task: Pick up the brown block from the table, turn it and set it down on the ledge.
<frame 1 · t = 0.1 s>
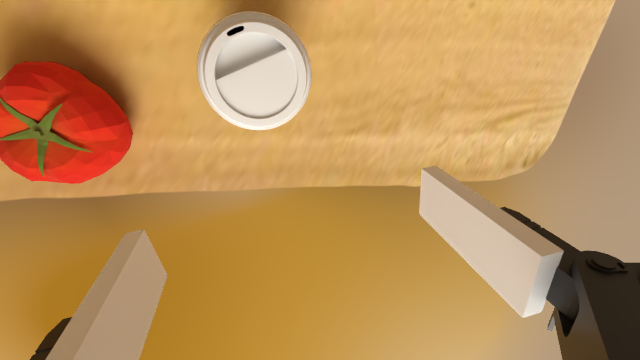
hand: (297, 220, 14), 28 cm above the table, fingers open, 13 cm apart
coffee cup: (253, 64, 36), on the table
tomato: (84, 116, 34), on the table
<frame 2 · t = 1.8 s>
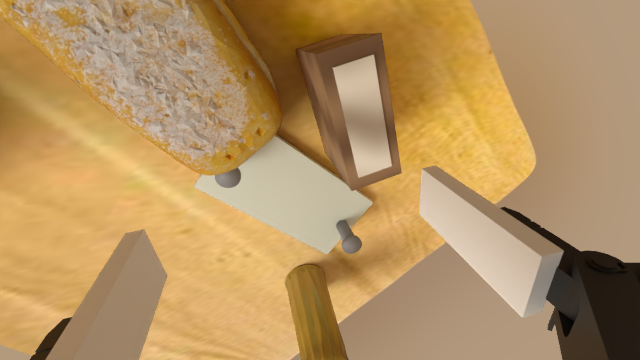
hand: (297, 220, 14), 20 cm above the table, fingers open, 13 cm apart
vase: (304, 278, 43), on the table
brown block: (332, 98, 32), on the table
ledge: (290, 191, 36), on the table
bread: (155, 34, 26), on the table, touching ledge
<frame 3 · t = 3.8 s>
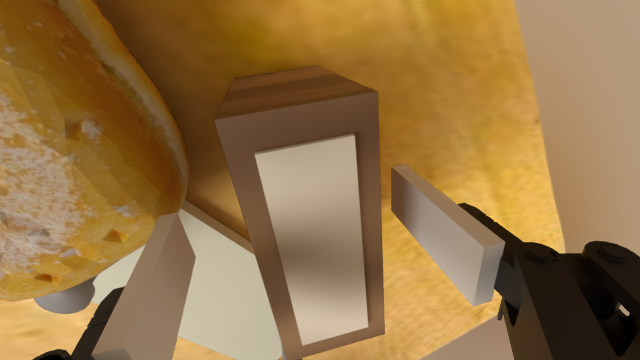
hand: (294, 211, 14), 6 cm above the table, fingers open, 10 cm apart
brown block: (292, 161, 20), on the table
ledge: (214, 284, 23), on the table
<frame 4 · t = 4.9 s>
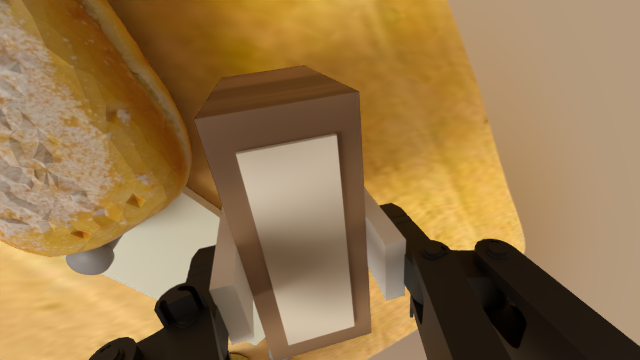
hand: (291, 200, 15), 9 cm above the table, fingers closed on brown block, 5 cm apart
brown block: (281, 161, 20), point 4 cm above the table, touching gripper
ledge: (211, 264, 27), on the table
bread: (10, 35, 17), on the table, touching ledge
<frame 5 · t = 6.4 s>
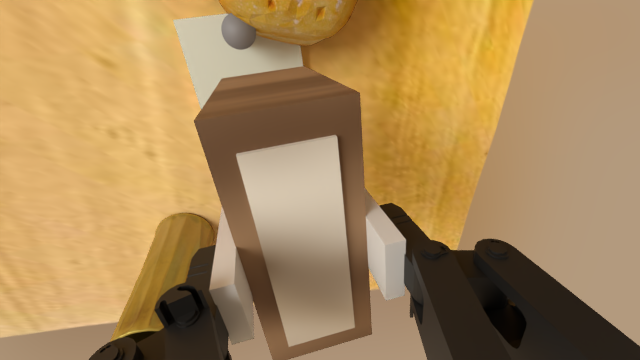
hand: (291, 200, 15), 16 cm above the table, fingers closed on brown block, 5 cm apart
vase: (186, 233, 33), on the table
brown block: (281, 162, 20), point 11 cm above the table, touching gripper
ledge: (260, 125, 29), on the table
when the fingers open (8 cm above the table, at t = 8.0 s): brown block drops 1 cm, resting on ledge.
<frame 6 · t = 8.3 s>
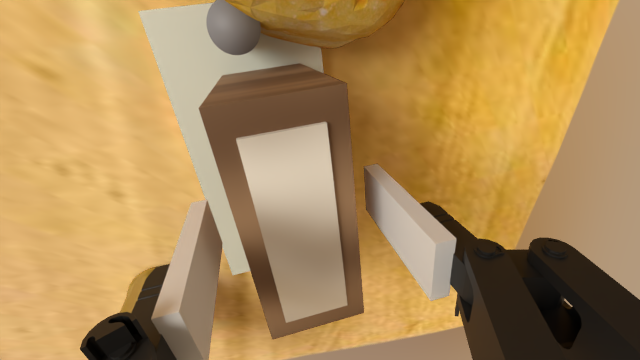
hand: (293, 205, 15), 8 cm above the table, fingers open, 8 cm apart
vase: (168, 288, 26), on the table
brown block: (279, 155, 21), point 1 cm above the table, touching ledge
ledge: (265, 153, 22), on the table
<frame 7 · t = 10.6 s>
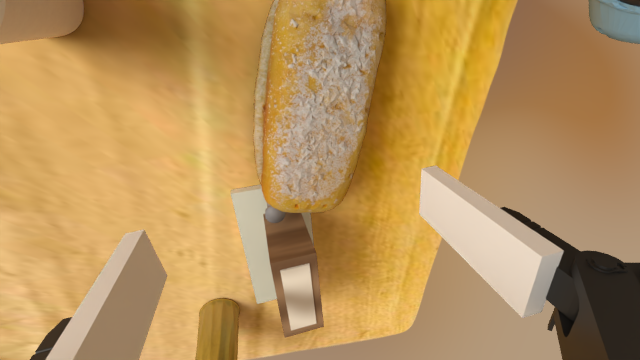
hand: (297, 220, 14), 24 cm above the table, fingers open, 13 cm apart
vase: (220, 310, 46), on the table
brown block: (286, 245, 42), point 1 cm above the table, touching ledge
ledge: (279, 242, 43), on the table
bread: (307, 100, 35), on the table, touching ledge
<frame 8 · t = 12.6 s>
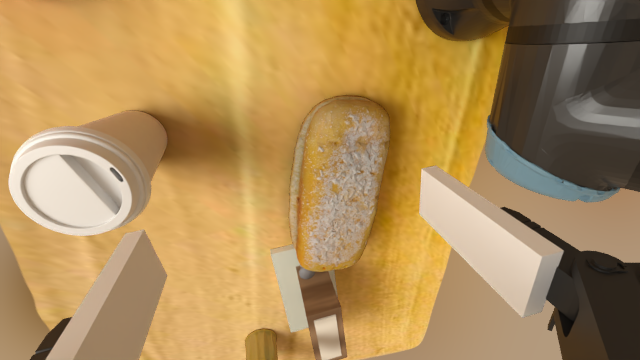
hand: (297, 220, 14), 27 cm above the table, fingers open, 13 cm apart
coffee cup: (139, 136, 35), on the table
vase: (261, 338, 56), on the table
brown block: (314, 287, 51), point 1 cm above the table, touching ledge
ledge: (307, 284, 52), on the table
bread: (329, 180, 44), on the table, touching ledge
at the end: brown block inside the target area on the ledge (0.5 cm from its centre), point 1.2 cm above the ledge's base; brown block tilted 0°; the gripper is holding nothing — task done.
